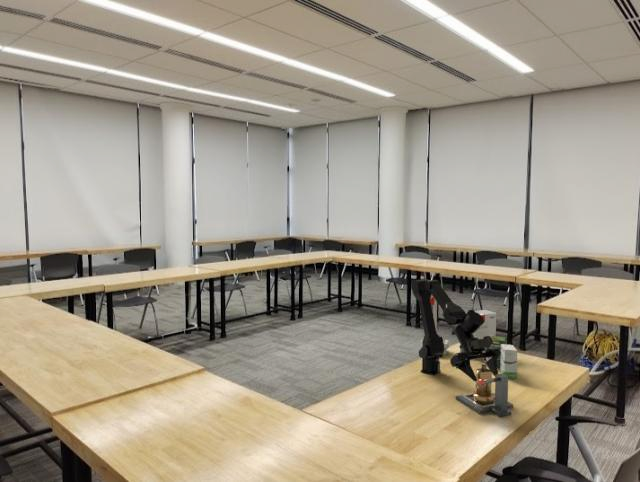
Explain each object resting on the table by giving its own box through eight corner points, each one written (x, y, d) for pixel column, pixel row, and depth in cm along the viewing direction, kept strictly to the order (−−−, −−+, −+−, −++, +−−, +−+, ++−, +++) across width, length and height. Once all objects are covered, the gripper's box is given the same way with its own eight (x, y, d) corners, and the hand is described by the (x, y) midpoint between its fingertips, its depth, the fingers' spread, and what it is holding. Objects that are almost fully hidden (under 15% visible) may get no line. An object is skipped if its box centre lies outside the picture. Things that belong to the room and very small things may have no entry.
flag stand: (436, 346, 223) (437, 286, 221) (454, 353, 211) (455, 291, 209) (415, 349, 217) (415, 289, 215) (432, 357, 205) (433, 293, 203)
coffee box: (485, 365, 195) (485, 336, 194) (486, 363, 197) (487, 334, 196) (504, 368, 191) (505, 338, 190) (505, 366, 193) (506, 337, 192)
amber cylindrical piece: (475, 403, 154) (475, 368, 153) (471, 395, 161) (471, 361, 160) (496, 404, 153) (497, 369, 153) (491, 396, 160) (491, 362, 159)
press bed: (450, 400, 160) (450, 364, 159) (487, 393, 166) (487, 358, 165) (482, 421, 144) (483, 381, 143) (521, 412, 150) (522, 374, 149)
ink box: (517, 379, 179) (517, 350, 178) (504, 378, 180) (504, 349, 179) (512, 371, 187) (513, 344, 186) (499, 371, 188) (500, 343, 187)
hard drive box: (471, 359, 203) (472, 316, 202) (459, 354, 210) (460, 312, 209) (495, 353, 210) (496, 312, 209) (483, 349, 217) (483, 309, 216)
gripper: (455, 330, 156) (476, 372, 146) (498, 325, 162) (520, 365, 153) (441, 346, 164) (460, 386, 154) (483, 340, 170) (503, 379, 161)
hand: (486, 379), depth 155 cm, fingers open, 9 cm apart
